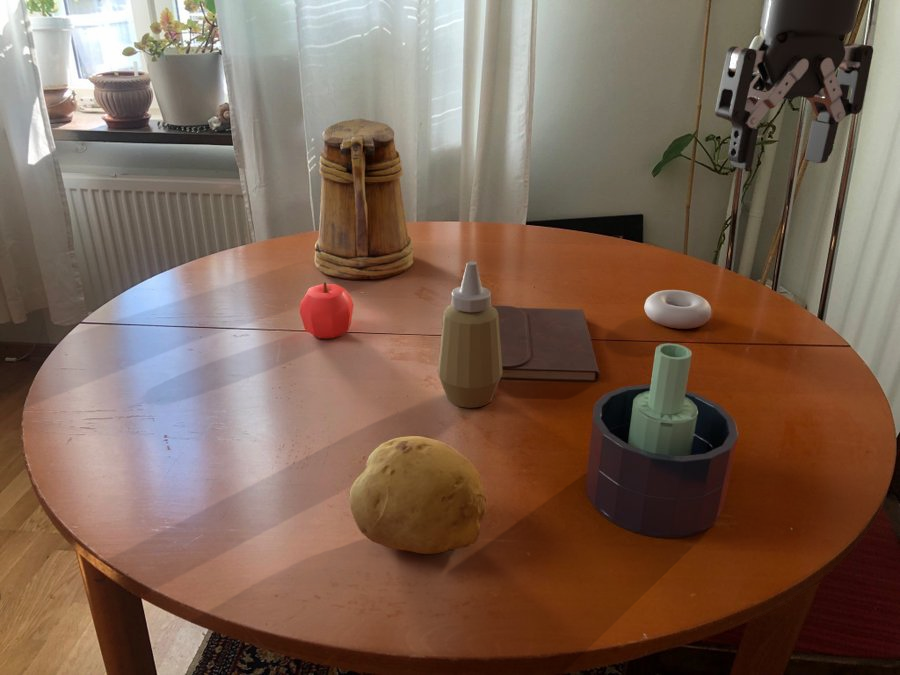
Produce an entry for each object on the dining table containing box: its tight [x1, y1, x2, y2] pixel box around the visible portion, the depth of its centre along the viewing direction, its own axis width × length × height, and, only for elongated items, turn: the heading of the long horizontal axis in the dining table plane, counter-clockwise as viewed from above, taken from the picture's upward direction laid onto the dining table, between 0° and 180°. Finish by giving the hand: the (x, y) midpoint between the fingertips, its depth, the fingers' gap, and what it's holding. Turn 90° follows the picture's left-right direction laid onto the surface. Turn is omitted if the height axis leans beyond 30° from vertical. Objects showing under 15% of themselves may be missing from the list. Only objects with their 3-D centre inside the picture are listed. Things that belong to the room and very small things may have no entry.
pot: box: [585, 384, 739, 539], centre depth 74 cm, size 14×14×9 cm
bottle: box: [628, 342, 698, 456], centre depth 73 cm, size 6×6×16 cm
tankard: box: [313, 117, 415, 281], centre depth 129 cm, size 18×24×25 cm
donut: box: [643, 289, 712, 330], centre depth 114 cm, size 10×3×10 cm
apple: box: [299, 281, 355, 340], centre depth 109 cm, size 8×8×8 cm
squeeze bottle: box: [437, 261, 503, 409], centre depth 90 cm, size 8×8×18 cm
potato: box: [348, 435, 487, 555], centre depth 69 cm, size 10×12×10 cm
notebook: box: [492, 305, 601, 383], centre depth 106 cm, size 15×20×2 cm
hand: (778, 164), depth 70 cm, fingers open, 8 cm apart
